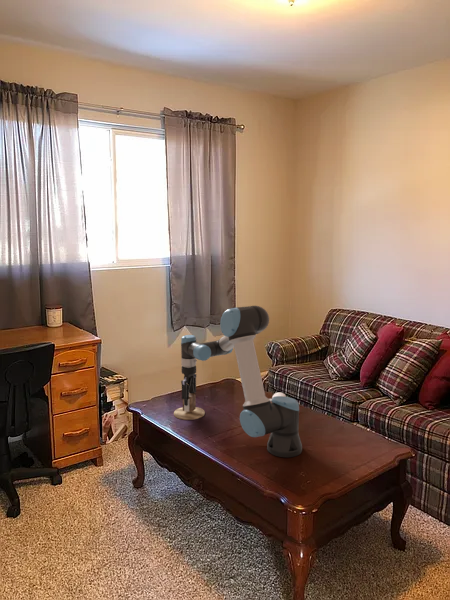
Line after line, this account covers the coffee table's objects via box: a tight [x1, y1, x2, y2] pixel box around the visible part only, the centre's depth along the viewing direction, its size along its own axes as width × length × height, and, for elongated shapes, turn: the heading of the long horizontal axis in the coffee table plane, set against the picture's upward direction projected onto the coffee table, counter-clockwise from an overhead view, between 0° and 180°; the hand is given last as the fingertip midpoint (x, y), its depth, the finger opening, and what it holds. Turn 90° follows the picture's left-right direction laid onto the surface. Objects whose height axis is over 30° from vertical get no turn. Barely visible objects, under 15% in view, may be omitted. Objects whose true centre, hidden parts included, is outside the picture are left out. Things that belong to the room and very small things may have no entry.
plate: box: [173, 406, 206, 421], centre depth 254 cm, size 16×16×1 cm
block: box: [182, 393, 197, 412], centre depth 253 cm, size 5×5×8 cm
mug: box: [269, 392, 287, 403], centre depth 259 cm, size 12×10×8 cm
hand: (189, 408), depth 254 cm, fingers closed on block, 5 cm apart
